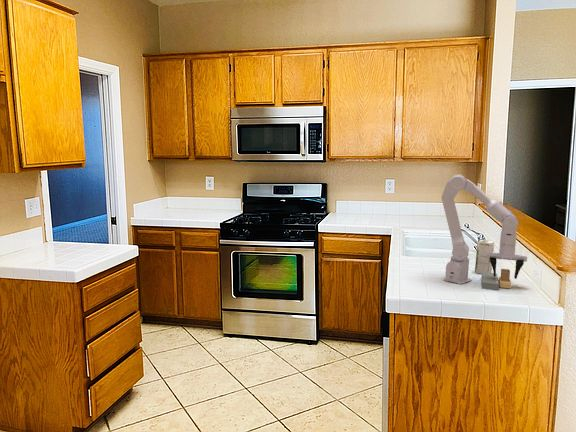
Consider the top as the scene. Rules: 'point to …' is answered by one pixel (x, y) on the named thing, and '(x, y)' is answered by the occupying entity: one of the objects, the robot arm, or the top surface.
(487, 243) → the syrup box
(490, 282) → the grey block
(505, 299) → the top surface
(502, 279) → the stub
